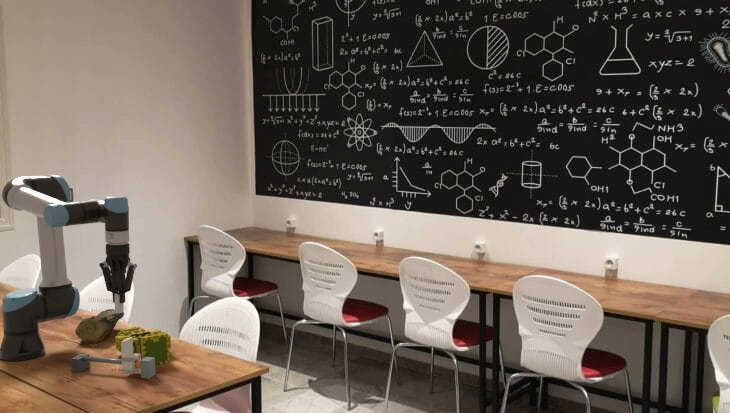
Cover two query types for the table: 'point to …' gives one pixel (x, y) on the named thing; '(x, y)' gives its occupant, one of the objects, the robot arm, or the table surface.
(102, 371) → the table surface
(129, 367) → the cream l-shaped block
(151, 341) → the toy
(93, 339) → the stone
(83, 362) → the rail
